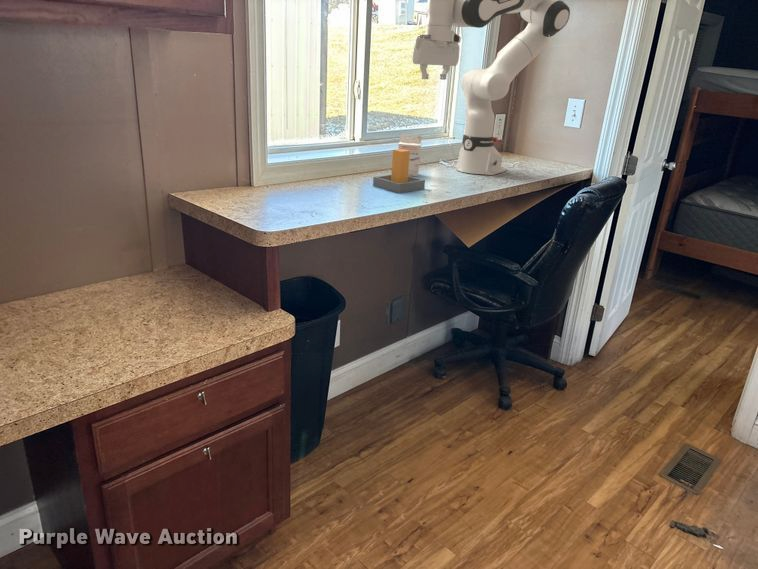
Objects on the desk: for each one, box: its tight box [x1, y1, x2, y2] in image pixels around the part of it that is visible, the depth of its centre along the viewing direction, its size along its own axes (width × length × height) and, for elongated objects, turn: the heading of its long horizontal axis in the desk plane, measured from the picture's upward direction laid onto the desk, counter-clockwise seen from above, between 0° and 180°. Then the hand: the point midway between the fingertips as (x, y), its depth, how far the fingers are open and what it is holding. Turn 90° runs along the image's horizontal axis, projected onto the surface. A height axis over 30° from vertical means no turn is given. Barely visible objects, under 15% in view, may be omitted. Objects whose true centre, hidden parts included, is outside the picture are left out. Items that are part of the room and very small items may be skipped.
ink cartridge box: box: [397, 133, 422, 177], centre depth 212 cm, size 9×5×15 cm, turn 84°
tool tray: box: [372, 173, 426, 194], centre depth 193 cm, size 13×13×3 cm
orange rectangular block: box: [390, 148, 410, 183], centre depth 191 cm, size 4×4×12 cm
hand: (434, 79), depth 193 cm, fingers open, 8 cm apart
